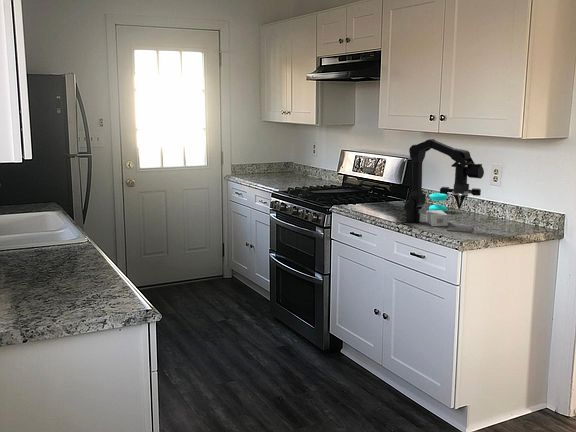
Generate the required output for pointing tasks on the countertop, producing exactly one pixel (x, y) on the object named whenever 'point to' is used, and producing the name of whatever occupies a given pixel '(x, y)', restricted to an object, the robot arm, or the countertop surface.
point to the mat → (460, 228)
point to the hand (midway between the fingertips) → (459, 208)
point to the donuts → (438, 198)
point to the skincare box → (437, 218)
